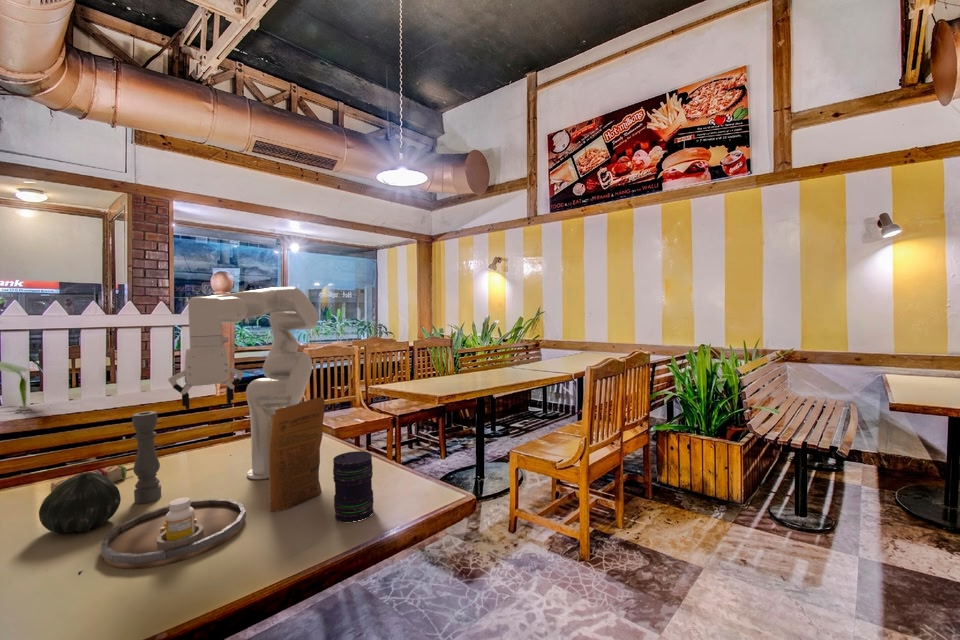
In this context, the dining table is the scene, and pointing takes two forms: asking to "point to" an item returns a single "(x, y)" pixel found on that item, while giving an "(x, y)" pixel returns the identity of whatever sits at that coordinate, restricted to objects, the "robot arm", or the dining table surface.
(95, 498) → the squash
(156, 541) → the carrier plate
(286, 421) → the pancake mix bag
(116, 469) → the skewer
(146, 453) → the candle holder
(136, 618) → the dining table surface
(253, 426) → the robot arm
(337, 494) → the black ridged cylinder
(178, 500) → the supplement bottle
